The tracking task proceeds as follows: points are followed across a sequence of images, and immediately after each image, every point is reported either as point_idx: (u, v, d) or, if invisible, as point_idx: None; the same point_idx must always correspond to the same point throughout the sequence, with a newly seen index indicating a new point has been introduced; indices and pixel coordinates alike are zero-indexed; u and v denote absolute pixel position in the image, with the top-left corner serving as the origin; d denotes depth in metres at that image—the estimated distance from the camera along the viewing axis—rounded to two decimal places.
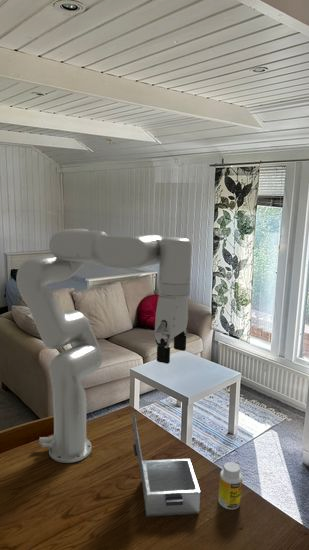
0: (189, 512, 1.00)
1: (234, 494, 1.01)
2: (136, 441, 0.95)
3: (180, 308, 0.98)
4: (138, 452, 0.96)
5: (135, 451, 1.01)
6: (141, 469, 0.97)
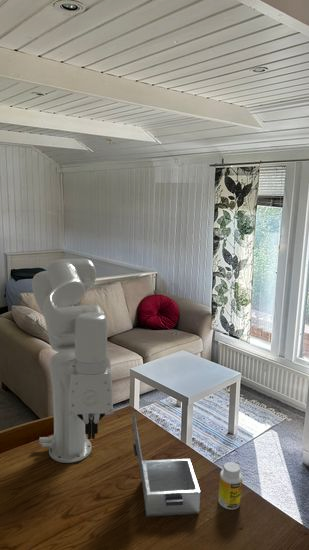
0: (189, 512, 1.00)
1: (234, 494, 1.01)
2: (136, 441, 0.95)
3: None
4: (138, 452, 0.96)
5: (135, 451, 1.01)
6: (141, 469, 0.97)
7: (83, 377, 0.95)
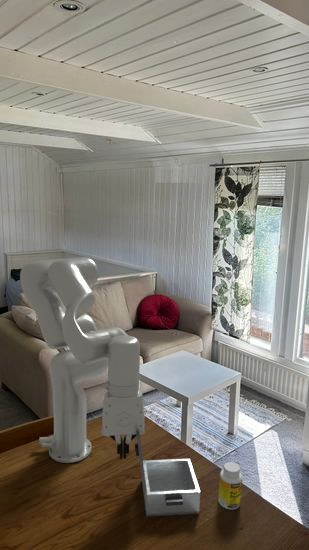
0: (189, 512, 1.00)
1: (234, 494, 1.01)
2: (138, 441, 0.96)
3: None
4: (140, 452, 0.96)
5: (136, 451, 1.01)
6: (142, 469, 0.97)
7: (116, 400, 0.97)
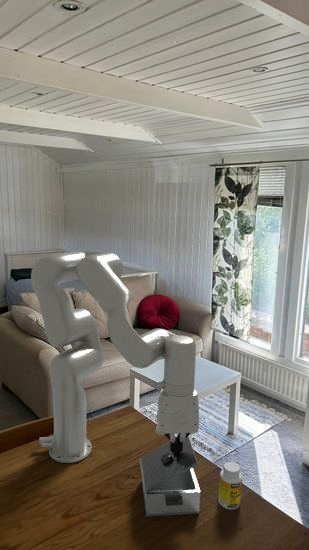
0: (189, 512, 1.00)
1: (234, 494, 1.01)
2: (195, 464, 0.98)
3: None
4: (184, 470, 0.98)
5: (169, 460, 1.03)
6: (168, 479, 0.98)
7: (173, 399, 0.99)
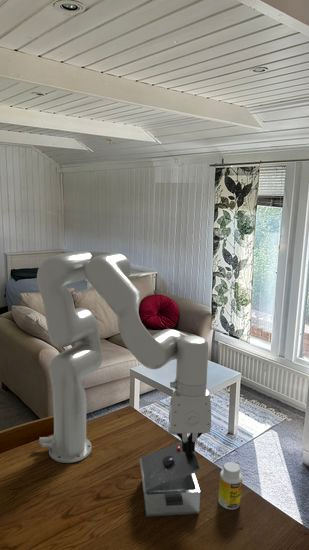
0: (189, 512, 1.00)
1: (234, 494, 1.01)
2: (198, 469, 0.99)
3: None
4: (187, 474, 0.99)
5: (171, 463, 1.03)
6: (169, 482, 0.98)
7: (186, 398, 0.99)
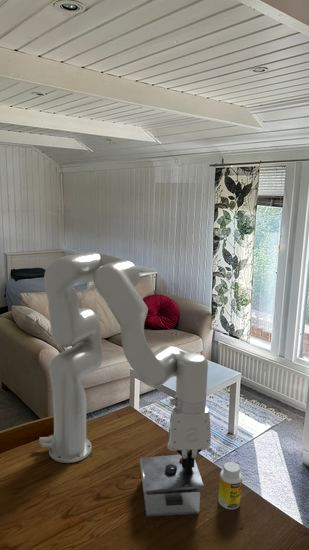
0: (189, 512, 1.00)
1: (234, 494, 1.01)
2: (201, 486, 1.00)
3: None
4: (189, 488, 0.99)
5: (174, 472, 1.04)
6: (171, 489, 0.99)
7: (185, 416, 1.00)
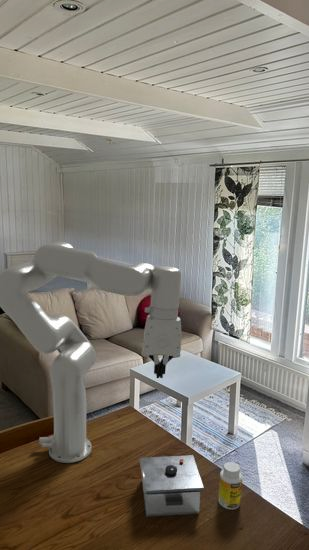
0: (189, 512, 1.00)
1: (234, 494, 1.01)
2: (201, 488, 1.00)
3: None
4: (189, 489, 0.99)
5: (174, 473, 1.04)
6: (171, 490, 0.99)
7: (158, 322, 1.08)
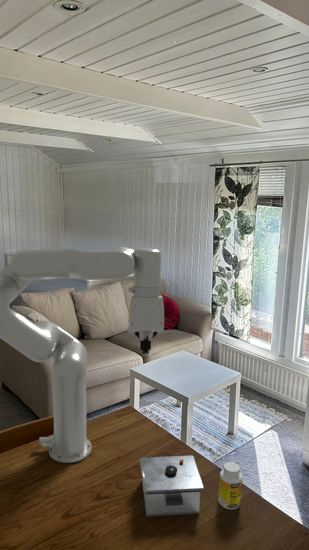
0: (189, 512, 1.00)
1: (234, 494, 1.01)
2: (201, 489, 1.00)
3: None
4: (189, 489, 0.99)
5: (174, 473, 1.04)
6: (171, 490, 0.99)
7: (141, 300, 1.15)
